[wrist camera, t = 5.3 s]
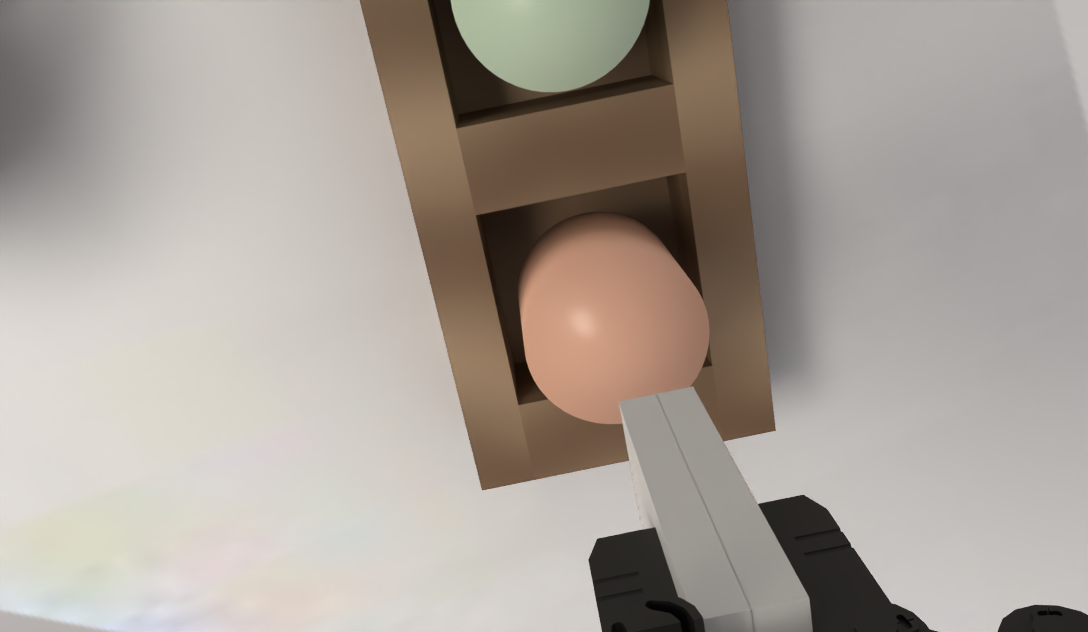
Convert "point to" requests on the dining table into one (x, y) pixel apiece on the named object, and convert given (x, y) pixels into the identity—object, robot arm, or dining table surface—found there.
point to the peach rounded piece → (608, 316)
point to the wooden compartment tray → (572, 211)
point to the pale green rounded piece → (550, 38)
